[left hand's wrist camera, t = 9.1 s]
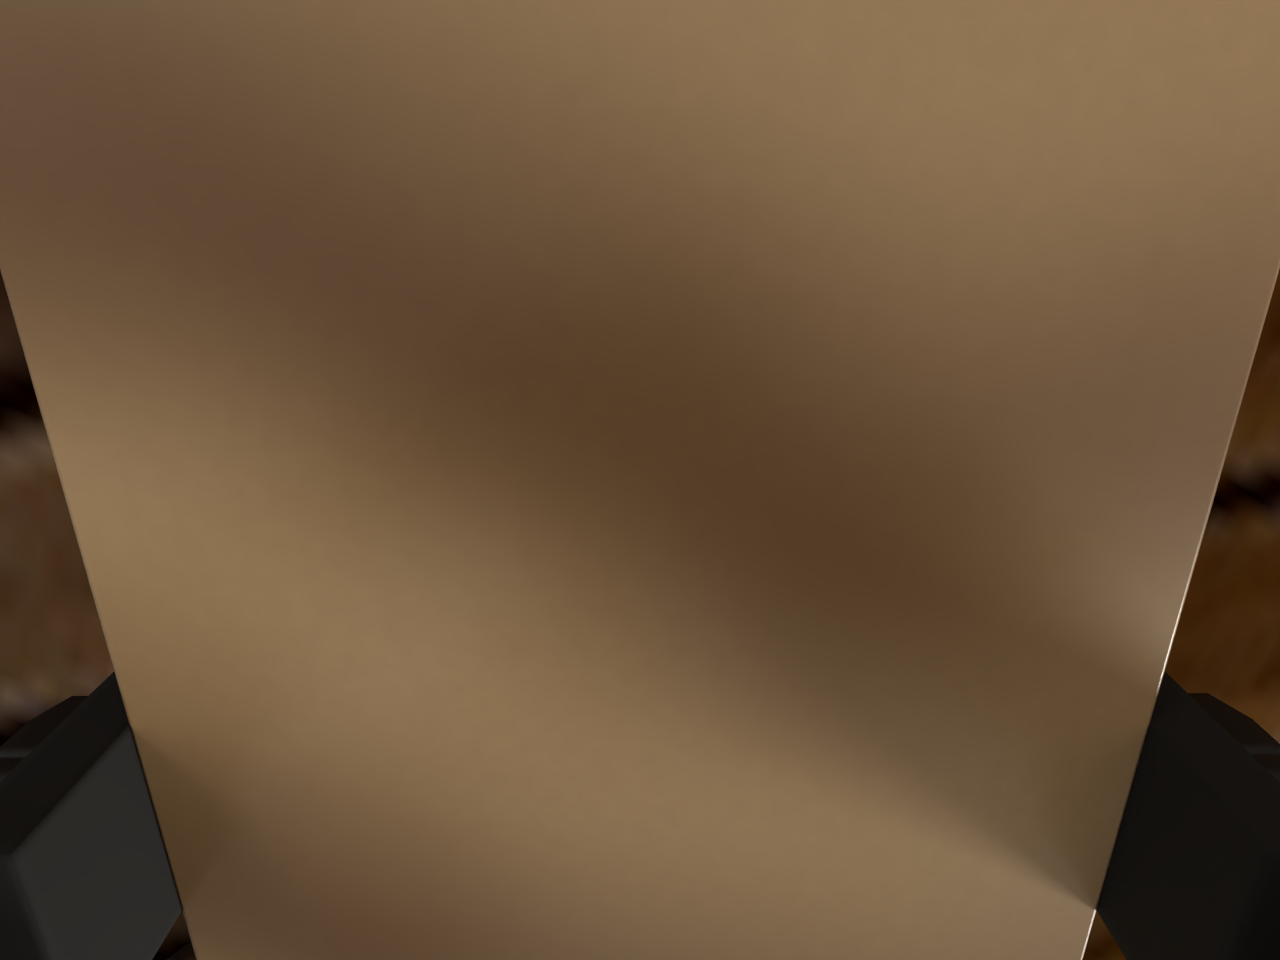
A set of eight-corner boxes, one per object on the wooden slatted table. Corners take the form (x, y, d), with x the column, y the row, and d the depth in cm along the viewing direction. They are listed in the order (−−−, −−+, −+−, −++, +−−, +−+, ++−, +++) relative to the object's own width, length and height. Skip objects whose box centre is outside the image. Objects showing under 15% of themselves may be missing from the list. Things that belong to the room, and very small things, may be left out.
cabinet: (315, -362, 13) (-615, -1866, 3) (965, -361, 13) (1894, -1864, 3) (424, 613, 20) (218, 1043, 10) (854, 613, 20) (1060, 1044, 10)
